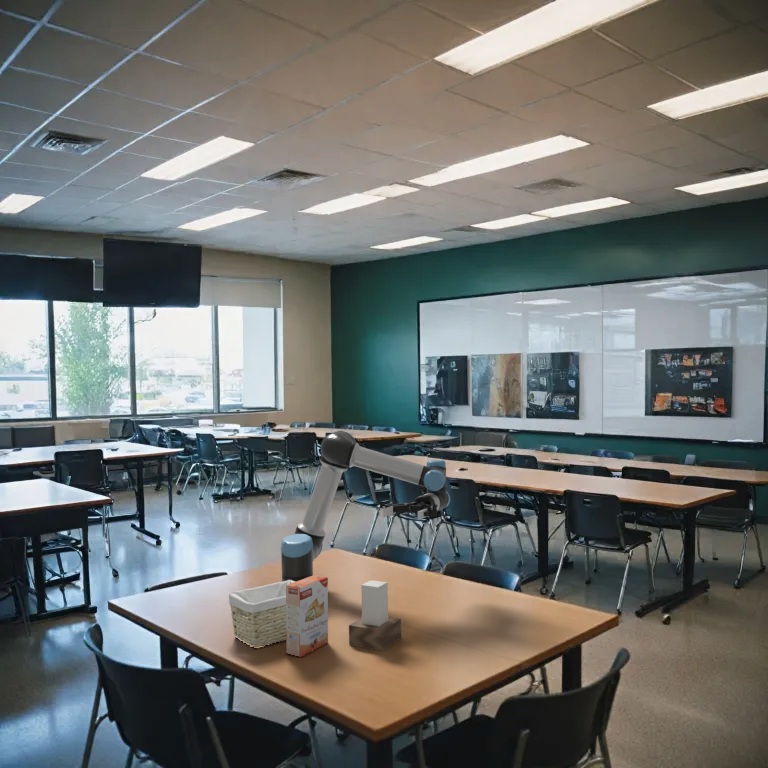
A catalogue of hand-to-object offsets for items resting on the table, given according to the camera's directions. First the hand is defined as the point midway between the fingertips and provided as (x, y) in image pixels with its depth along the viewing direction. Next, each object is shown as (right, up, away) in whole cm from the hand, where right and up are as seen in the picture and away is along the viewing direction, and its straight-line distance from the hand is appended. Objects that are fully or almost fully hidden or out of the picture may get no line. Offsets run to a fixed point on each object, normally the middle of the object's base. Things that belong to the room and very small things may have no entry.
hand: (400, 514), depth 246 cm
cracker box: (-29, -36, -30) cm, 55 cm away
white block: (-9, -29, -25) cm, 39 cm away
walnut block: (-9, -35, -25) cm, 44 cm away
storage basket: (-42, -36, -18) cm, 58 cm away
